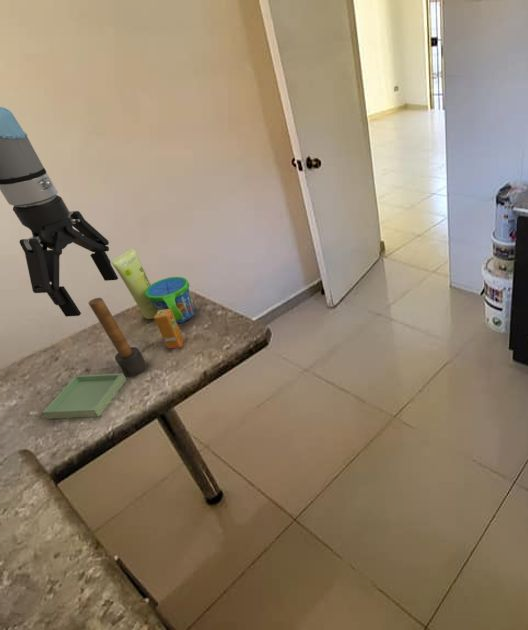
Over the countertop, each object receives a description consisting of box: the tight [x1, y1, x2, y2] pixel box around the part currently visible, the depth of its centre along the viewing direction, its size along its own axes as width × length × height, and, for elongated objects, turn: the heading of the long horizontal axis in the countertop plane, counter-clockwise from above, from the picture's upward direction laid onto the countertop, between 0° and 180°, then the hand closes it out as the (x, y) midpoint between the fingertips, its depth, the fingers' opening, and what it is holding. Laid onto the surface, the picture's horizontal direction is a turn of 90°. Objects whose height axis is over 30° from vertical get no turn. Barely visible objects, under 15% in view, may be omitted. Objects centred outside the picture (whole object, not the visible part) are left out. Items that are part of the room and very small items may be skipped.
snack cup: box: [145, 276, 195, 324], centre depth 119 cm, size 16×10×10 cm
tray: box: [42, 372, 127, 420], centre depth 97 cm, size 11×11×2 cm
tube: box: [110, 247, 158, 320], centre depth 117 cm, size 6×5×20 cm
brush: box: [88, 297, 148, 378], centre depth 99 cm, size 5×5×20 cm
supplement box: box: [153, 309, 185, 350], centre depth 109 cm, size 3×4×10 cm
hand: (93, 296), depth 92 cm, fingers open, 13 cm apart
